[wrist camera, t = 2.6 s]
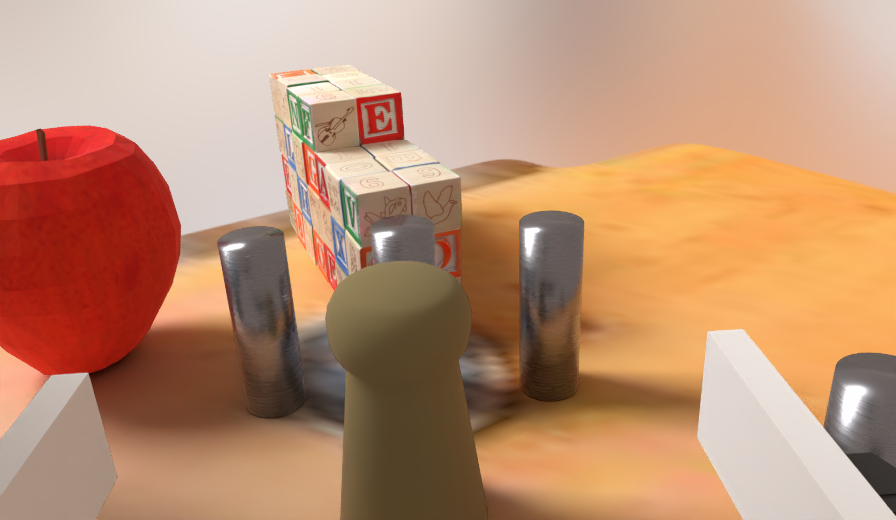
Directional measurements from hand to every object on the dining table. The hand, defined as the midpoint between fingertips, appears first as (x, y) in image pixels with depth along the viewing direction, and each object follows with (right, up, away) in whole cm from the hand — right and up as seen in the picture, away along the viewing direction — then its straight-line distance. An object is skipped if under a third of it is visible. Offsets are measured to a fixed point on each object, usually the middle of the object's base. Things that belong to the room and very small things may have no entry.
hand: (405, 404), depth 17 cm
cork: (0, -8, +15) cm, 17 cm away
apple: (-19, -3, +27) cm, 33 cm away
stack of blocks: (-5, +2, +38) cm, 38 cm away
